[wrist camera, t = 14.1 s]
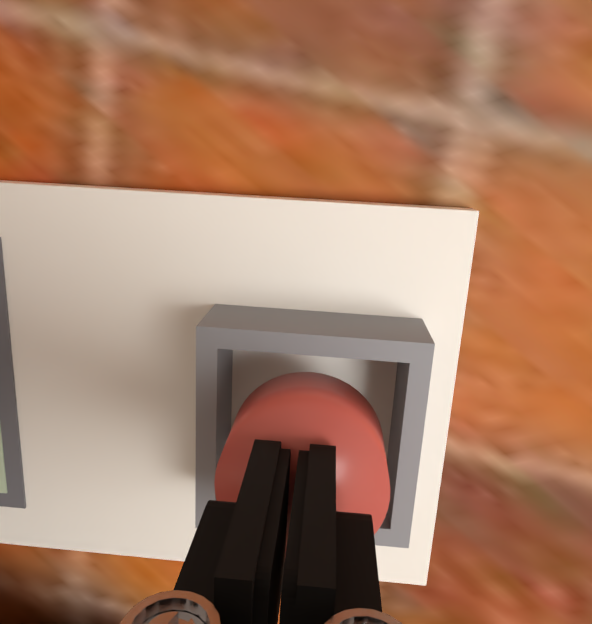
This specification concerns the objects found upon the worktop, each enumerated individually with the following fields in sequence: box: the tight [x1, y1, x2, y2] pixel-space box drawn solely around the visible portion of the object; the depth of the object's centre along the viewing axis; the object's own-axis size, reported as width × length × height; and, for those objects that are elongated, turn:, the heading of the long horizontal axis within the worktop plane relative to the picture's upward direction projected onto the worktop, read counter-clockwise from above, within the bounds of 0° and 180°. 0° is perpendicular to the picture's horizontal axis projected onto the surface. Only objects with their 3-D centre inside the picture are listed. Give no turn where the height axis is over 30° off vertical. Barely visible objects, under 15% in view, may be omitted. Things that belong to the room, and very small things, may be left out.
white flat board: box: [0, 180, 479, 586], centre depth 15 cm, size 11×21×3 cm, turn 87°
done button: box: [214, 372, 390, 555], centre depth 12 cm, size 4×4×2 cm
